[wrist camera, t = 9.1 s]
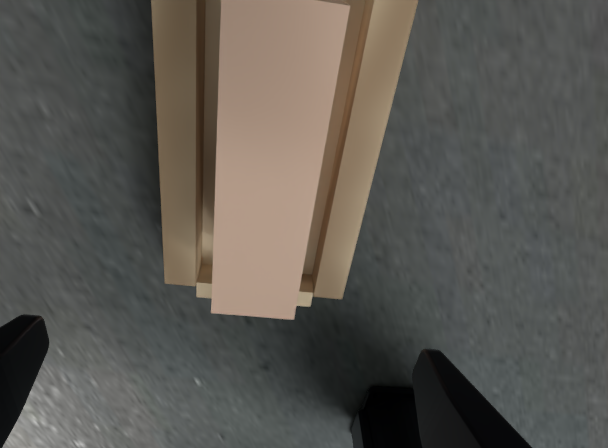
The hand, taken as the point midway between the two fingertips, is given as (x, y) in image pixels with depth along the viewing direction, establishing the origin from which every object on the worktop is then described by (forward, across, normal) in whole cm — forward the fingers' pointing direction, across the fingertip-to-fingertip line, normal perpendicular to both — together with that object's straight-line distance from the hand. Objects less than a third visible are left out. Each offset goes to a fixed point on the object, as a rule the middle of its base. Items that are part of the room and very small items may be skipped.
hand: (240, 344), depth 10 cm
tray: (+12, 0, -1) cm, 12 cm away
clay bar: (+11, 0, -1) cm, 11 cm away
